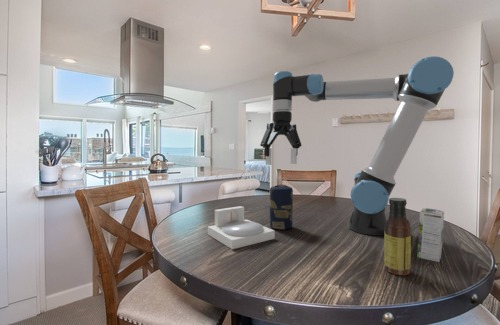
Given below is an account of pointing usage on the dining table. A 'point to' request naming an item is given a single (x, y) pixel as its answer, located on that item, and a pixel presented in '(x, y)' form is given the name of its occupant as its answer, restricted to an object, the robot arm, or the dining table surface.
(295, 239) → the dining table surface
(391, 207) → the sauce bottle
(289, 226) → the canister
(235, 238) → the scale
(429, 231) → the syrup box
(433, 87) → the robot arm
